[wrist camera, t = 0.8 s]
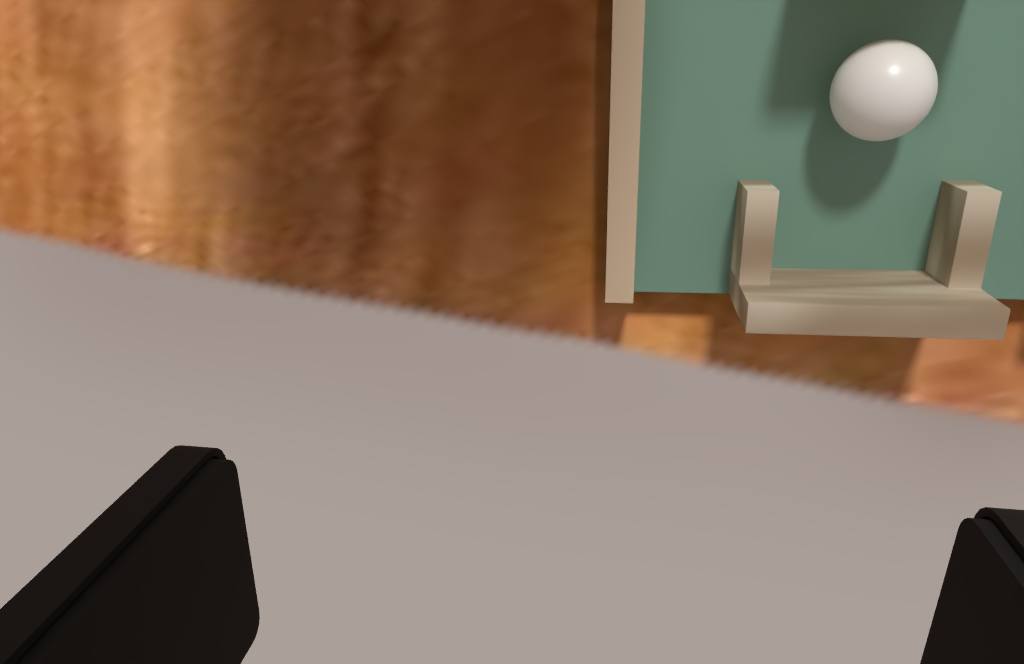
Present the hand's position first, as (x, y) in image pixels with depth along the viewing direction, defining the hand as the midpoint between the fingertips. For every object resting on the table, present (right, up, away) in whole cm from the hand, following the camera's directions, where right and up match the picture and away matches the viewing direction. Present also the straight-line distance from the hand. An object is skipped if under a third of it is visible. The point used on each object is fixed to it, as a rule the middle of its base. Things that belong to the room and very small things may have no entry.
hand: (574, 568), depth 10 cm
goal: (+13, +7, +22) cm, 26 cm away
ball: (+13, +12, +18) cm, 25 cm away
